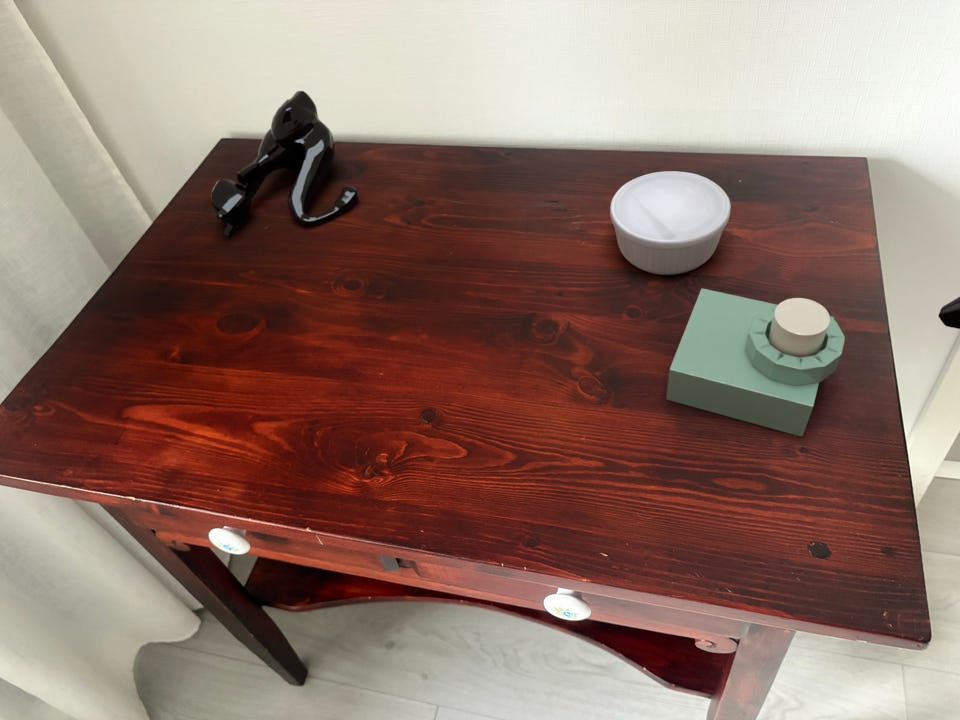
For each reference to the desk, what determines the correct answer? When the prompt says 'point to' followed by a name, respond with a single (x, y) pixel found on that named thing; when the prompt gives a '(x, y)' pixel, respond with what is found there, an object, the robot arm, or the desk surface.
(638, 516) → the desk surface
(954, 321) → the robot arm
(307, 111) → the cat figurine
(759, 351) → the button base
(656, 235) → the ramekin
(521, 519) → the desk surface
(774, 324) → the cream cylindrical button
